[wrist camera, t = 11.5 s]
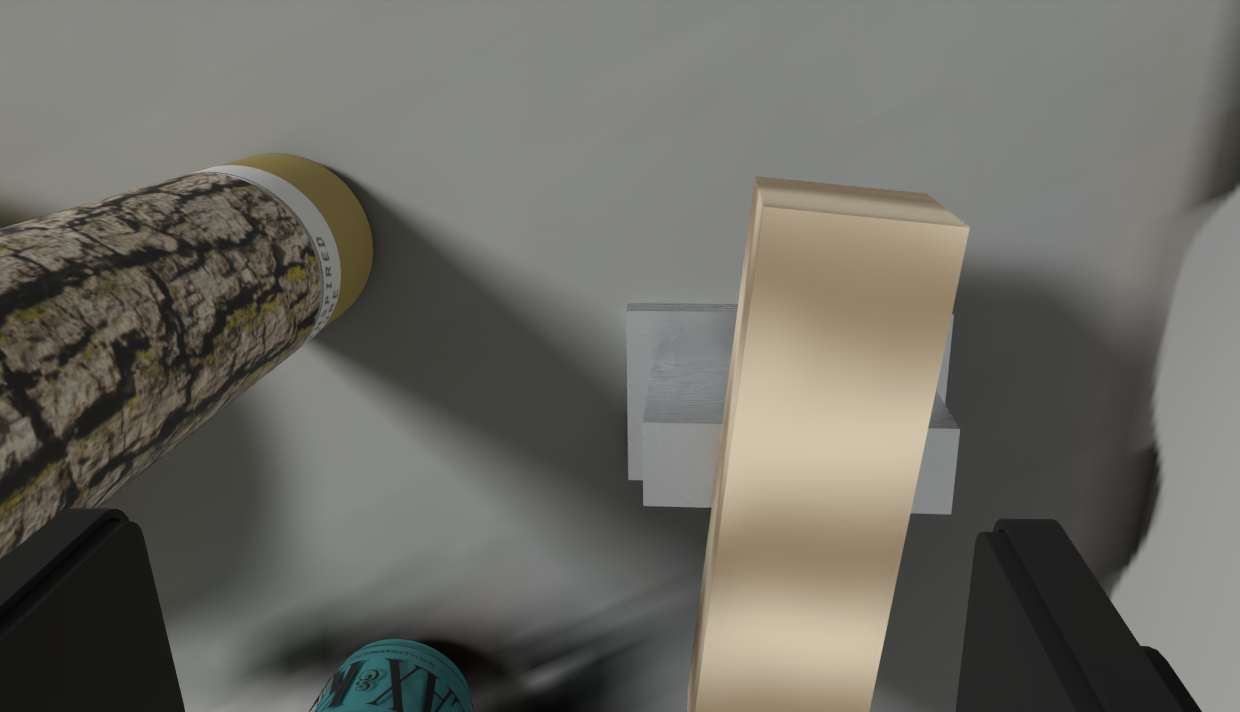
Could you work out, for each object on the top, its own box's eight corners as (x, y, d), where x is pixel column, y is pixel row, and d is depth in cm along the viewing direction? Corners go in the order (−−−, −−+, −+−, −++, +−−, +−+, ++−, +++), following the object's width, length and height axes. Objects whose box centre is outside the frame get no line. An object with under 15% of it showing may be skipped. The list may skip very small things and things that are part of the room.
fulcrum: (628, 303, 38) (610, 363, 31) (947, 307, 36) (1000, 369, 30) (630, 468, 40) (614, 557, 33) (931, 476, 39) (976, 569, 32)
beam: (755, 176, 29) (763, 207, 24) (926, 193, 28) (969, 227, 24) (688, 684, 35) (684, 788, 30) (829, 702, 34) (848, 810, 30)
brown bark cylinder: (377, 156, 37) (-225, 399, 13) (381, 329, 39) (-129, 803, 15) (202, 143, 37) (-689, 354, 13) (215, 314, 39) (-528, 753, 16)
